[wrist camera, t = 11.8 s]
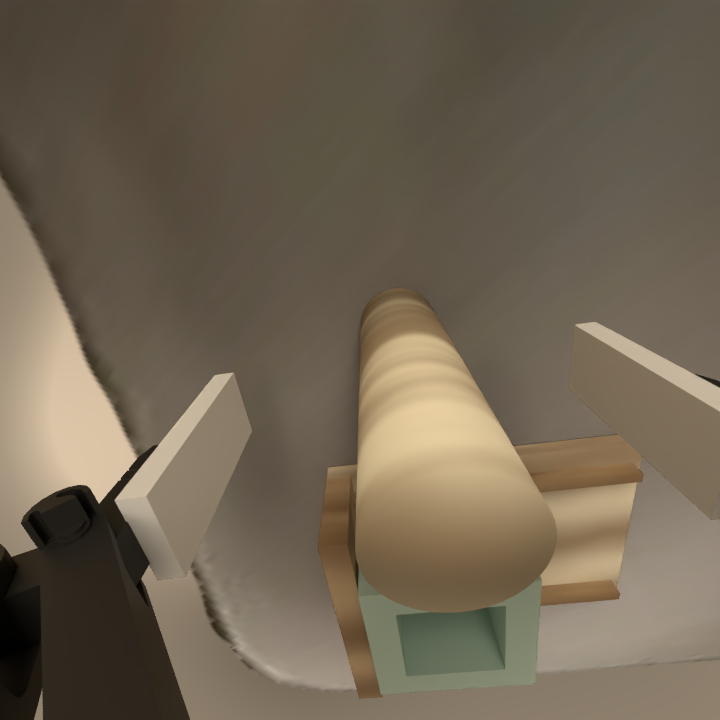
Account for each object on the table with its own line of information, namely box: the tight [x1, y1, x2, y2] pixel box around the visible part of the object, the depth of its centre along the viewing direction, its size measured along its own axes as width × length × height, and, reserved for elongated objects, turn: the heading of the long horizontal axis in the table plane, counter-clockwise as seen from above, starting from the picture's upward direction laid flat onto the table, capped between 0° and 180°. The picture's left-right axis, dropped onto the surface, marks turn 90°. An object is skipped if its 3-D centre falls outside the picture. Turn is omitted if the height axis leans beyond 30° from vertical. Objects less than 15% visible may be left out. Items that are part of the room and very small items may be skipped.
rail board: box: [318, 435, 643, 699], centre depth 24 cm, size 14×19×6 cm
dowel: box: [355, 288, 557, 613], centre depth 14 cm, size 4×4×14 cm
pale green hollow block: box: [358, 568, 542, 695], centre depth 23 cm, size 9×9×6 cm
